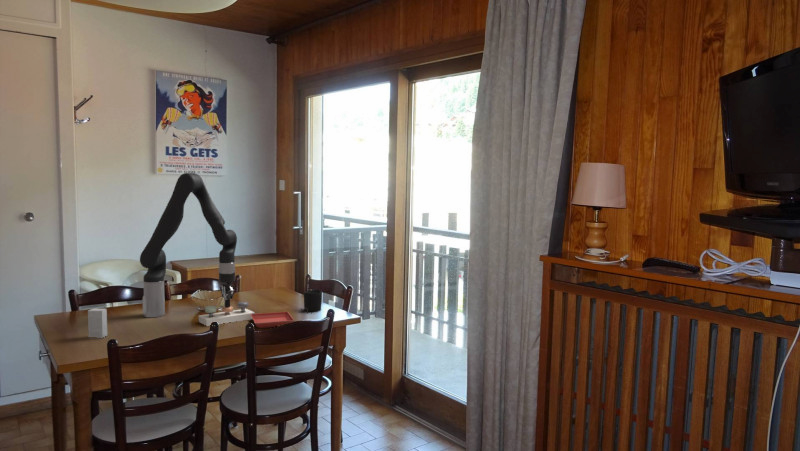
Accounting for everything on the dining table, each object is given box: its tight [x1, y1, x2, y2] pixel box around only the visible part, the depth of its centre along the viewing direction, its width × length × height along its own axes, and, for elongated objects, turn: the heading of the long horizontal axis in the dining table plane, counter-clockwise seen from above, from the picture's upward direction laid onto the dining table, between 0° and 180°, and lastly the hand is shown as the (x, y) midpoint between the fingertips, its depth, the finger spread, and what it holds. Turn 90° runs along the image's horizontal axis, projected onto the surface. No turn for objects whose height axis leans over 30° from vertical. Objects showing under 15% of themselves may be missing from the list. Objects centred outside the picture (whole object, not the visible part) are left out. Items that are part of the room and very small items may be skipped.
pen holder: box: [303, 289, 323, 313], centre depth 292 cm, size 9×9×10 cm
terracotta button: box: [221, 305, 234, 315], centre depth 268 cm, size 5×5×5 cm
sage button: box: [204, 305, 218, 317], centre depth 263 cm, size 5×5×5 cm
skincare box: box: [87, 308, 108, 339], centre depth 237 cm, size 6×4×12 cm
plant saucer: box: [251, 311, 295, 329], centre depth 266 cm, size 18×18×3 cm
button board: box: [198, 308, 256, 327], centre depth 269 cm, size 24×10×3 cm, turn 130°
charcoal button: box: [237, 301, 249, 313], centre depth 274 cm, size 5×5×5 cm
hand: (227, 307), depth 268 cm, fingers closed
